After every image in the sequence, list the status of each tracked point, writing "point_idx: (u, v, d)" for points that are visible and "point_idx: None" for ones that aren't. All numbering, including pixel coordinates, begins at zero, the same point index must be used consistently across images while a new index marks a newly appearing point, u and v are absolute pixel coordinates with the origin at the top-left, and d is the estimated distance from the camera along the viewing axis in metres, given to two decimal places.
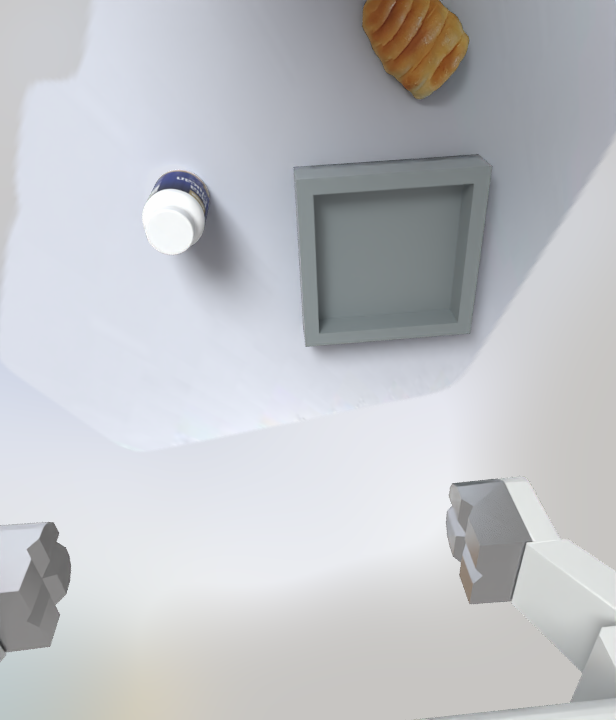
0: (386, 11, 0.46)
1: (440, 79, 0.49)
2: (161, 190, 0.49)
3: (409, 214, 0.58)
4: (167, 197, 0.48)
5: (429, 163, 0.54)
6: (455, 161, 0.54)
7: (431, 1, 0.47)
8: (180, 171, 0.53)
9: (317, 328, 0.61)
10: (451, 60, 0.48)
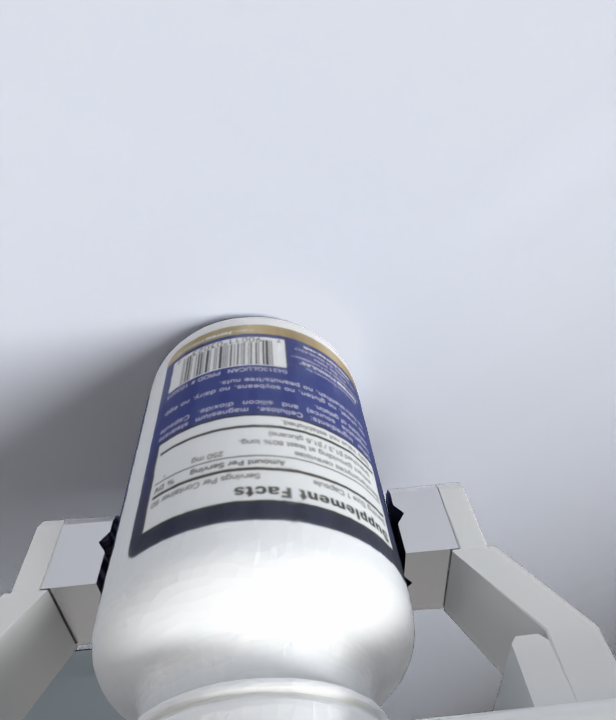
0: None
1: None
2: (407, 588, 0.10)
3: None
4: (401, 670, 0.09)
5: None
6: None
7: None
8: None
9: None
10: None
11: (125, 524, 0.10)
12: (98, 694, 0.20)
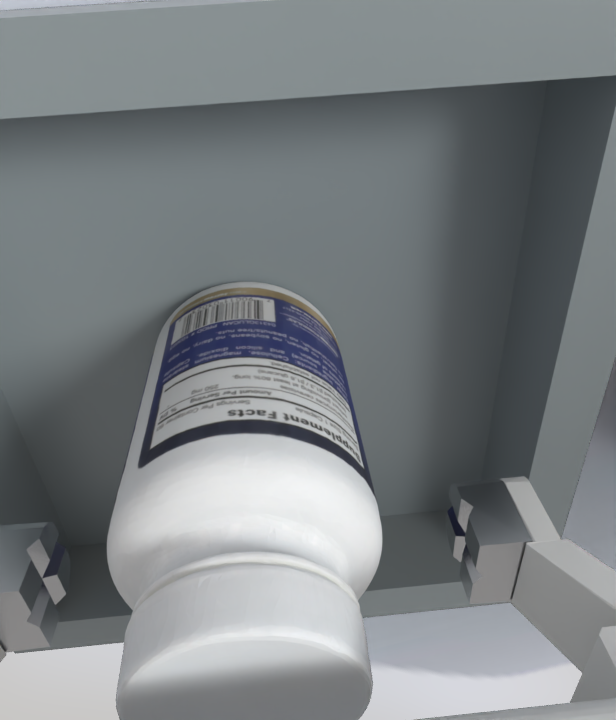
0: None
1: None
2: (376, 501, 0.11)
3: (383, 406, 0.18)
4: (369, 567, 0.11)
5: None
6: None
7: None
8: None
9: None
10: None
11: (134, 447, 0.11)
12: None
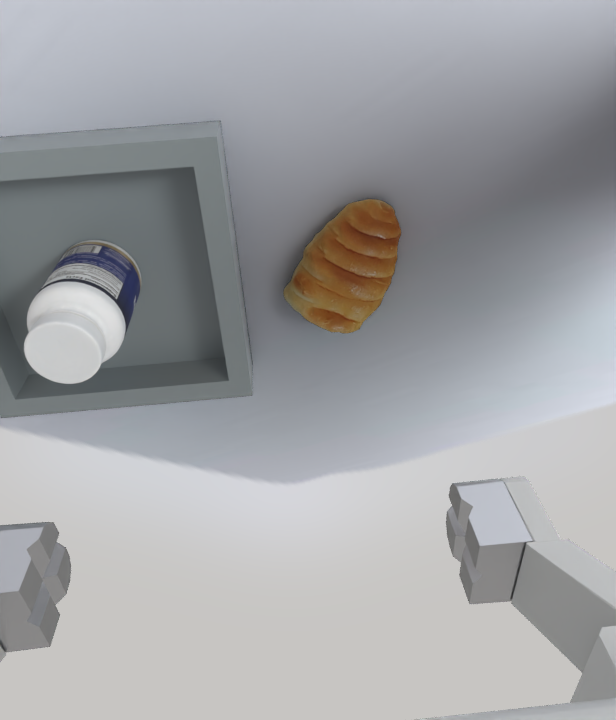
0: (373, 231, 0.37)
1: (316, 318, 0.39)
2: (120, 310, 0.33)
3: (168, 300, 0.40)
4: (114, 328, 0.33)
5: (244, 318, 0.40)
6: (248, 347, 0.42)
7: (390, 277, 0.39)
8: (140, 284, 0.38)
9: None
10: (338, 323, 0.40)
11: None
12: (69, 137, 0.33)
